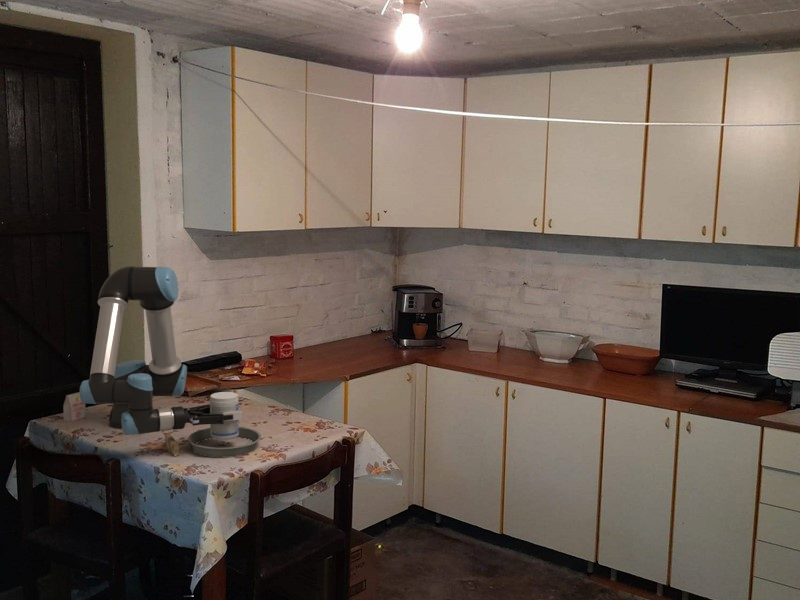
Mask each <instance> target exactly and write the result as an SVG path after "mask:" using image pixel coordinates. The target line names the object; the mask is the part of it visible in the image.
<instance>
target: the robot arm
mask: <svg viewBox="0 0 800 600" xmlns="http://www.w3.org/2000/svg"><path fill="white" fill-rule="evenodd" d="M176 274H177V273H175V271H174V270H173V269H172V268H170V267H165V266H164V267H163V266H130V265H129V266H123V267H120V268H118V269H117V270H115V271H113V272H112V274H110V275H109V276H108V277H107V278H106V280H105V281H104V282H103V285H101V288H100V290H99V292H98V293H99V294H98V298H97V299H98V300H97V304H98V306H99V307H100V308H99V313H98V320H97V326H96V327H97V328H96V332H95V333H96V334H95V340H94V347H93V353H92V359H91V366H90V372H89V373H90V374H89V379H87V380H83V381H82V382H81V384H80V386H79V392H80V399H81V401H82V402H83V403H85V404H91V405H92V404H93V405H103V404H104V405H106V404H109V405H110V404H112V407H111V410H110V413H109V417H108V425H109V427H111V428H116V429H122V432H123V434H124V435H126V436H129V435H131V436H132V435H133V436H134V435H143V434H151V433H158V432H159V433H164V432H167V431H171V430H173V431H174V430H175V431H178V430H183V429H185V427H186V424H192V426H194V427H195V426H201V425H210V424H224V421H231V420H243V410H239V411H236V412H227V413H223V414H210V403H209V404H208V403H207V404H203V405H198V406H192V407H184V406H181V405H179V406H171V408H170V406H169V407H162V408H153V404H154V403H153V402H154V401H153V397H178V396H182V395H183V394H184V391H185V388H186V382H187V375H188V367H187V365H185V364H184V363H183V364H182V361H181V359H180V358H179V356H177V351H176V341H175V334H174V326H173V323H174V322H173V317H172V308H171V307H172V306H173V305H174V304H175V301H177V299H178V297H179V282H178V278H177V275H176ZM129 301H139V306H140V307H141V309H143V310H145V317H146V323H147V324H146V325H147V331H148V338H149V339H148V340H149V346H150V353H151V358H152V359H151V361H150V362H149V363H148V364H147V363H146V361H145V360H144V359H134V360H133V359H132V360H128V361H123V362H119V363H117V362H118V354H119V347H120V341H121V340H120V339H121V335H122V334H121V333H122V326H123V319H124V311H125V310H126V309H127V307H128V305H129Z"/></svg>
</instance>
